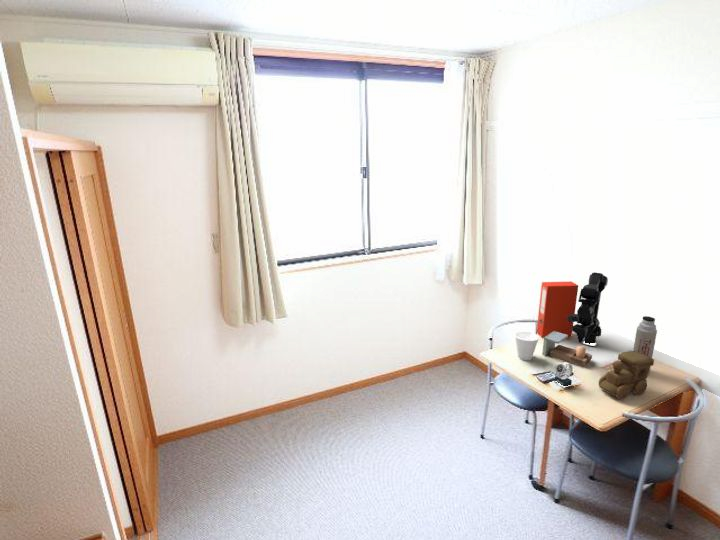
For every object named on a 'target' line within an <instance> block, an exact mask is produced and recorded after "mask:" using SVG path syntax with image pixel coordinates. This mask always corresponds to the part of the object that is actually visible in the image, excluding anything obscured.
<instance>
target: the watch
mask: <svg viewBox="0 0 720 540" xmlns="http://www.w3.org/2000/svg"><path fill="white" fill-rule="evenodd" d="M567 367H568V368H567ZM573 369H574V367H573V364H571V363H568V362H565V361H563V362H560V363H557V364H556V365H555V368H554V371H555V375H556V376H554V382H555V381H557V382H558V383H560V384H561V385H563V386H568V385H571V386H572V381H573V380H572V379H571V378H570V376H571V375H572V373H573Z"/></svg>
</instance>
